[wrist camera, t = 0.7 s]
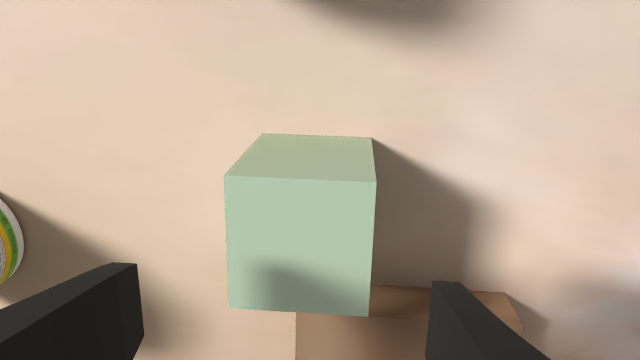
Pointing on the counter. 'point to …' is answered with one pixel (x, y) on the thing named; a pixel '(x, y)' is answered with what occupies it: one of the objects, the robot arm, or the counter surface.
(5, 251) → the supplement bottle
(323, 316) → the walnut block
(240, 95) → the counter surface
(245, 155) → the sage block
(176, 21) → the counter surface
